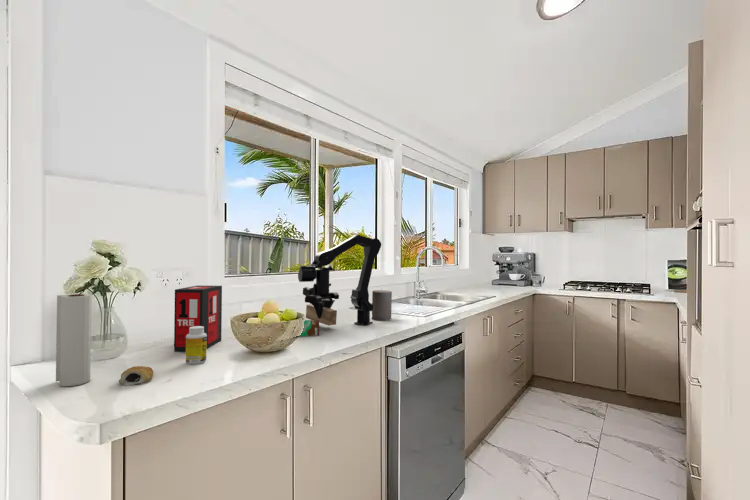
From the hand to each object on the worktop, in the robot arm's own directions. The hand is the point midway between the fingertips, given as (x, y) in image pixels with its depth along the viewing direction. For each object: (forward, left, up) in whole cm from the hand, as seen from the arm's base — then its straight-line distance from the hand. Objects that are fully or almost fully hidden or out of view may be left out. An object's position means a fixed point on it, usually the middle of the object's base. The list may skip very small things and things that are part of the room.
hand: (322, 317), depth 173 cm
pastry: (+82, -2, -5) cm, 82 cm away
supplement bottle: (+64, -2, -4) cm, 64 cm away
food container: (+12, +6, -1) cm, 13 cm away
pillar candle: (-32, +14, -4) cm, 35 cm away
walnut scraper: (0, -1, -2) cm, 2 cm away
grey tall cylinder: (+90, -13, -4) cm, 91 cm away
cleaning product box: (+49, -18, -4) cm, 52 cm away
